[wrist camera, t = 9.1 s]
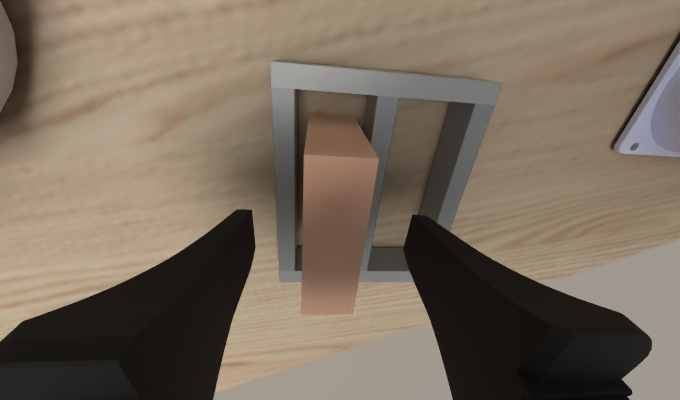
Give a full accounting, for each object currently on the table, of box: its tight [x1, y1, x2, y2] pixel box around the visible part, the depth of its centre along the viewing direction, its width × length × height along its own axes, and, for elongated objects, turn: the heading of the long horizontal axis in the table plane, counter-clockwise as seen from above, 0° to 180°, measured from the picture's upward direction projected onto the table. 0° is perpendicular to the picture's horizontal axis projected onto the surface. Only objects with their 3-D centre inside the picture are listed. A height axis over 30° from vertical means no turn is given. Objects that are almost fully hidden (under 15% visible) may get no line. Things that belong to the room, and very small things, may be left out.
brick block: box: [301, 112, 379, 315], centre depth 13 cm, size 2×8×7 cm, turn 175°
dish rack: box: [270, 60, 503, 282], centre depth 16 cm, size 11×13×2 cm
